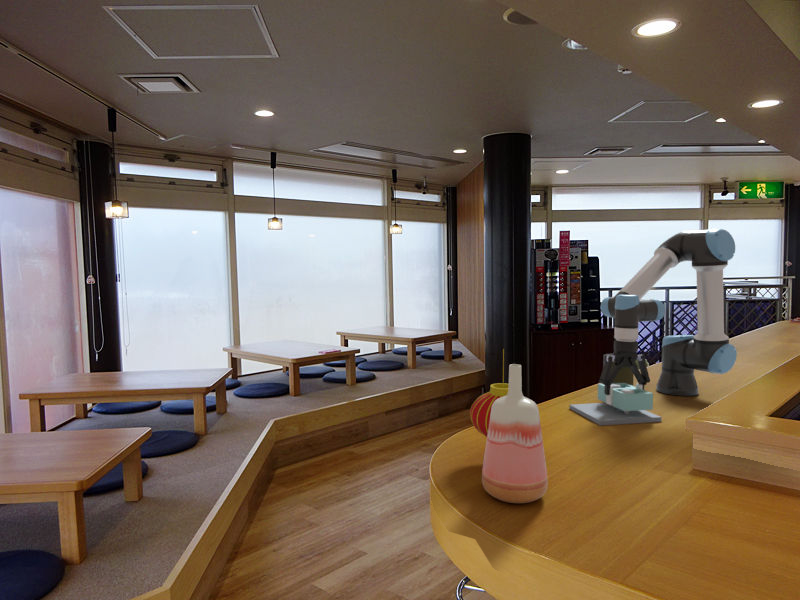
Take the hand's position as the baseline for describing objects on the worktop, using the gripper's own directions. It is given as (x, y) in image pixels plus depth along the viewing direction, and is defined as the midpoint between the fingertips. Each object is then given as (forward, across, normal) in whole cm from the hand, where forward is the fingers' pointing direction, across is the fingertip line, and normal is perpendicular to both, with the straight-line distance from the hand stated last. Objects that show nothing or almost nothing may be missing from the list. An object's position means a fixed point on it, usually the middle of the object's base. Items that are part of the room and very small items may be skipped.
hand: (624, 403), depth 181 cm
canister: (+4, -8, -16) cm, 18 cm away
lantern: (+4, +57, +33) cm, 66 cm away
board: (+4, +4, 0) cm, 5 cm away
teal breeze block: (0, 0, 0) cm, 0 cm away
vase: (+4, +62, +53) cm, 82 cm away
